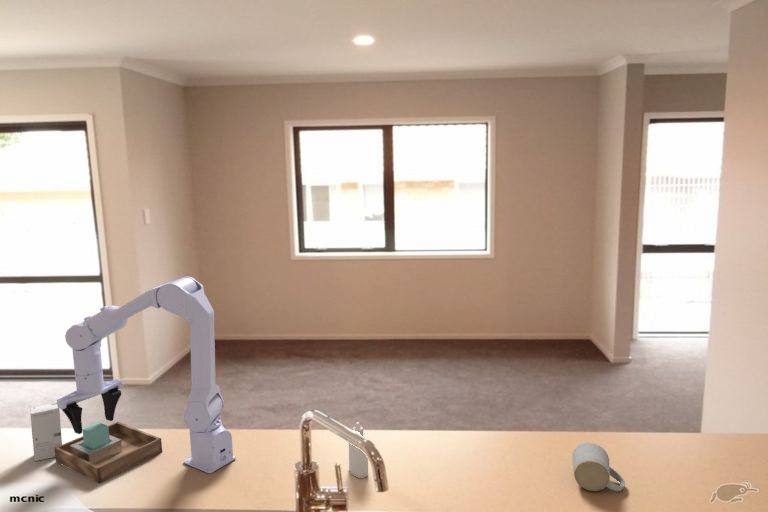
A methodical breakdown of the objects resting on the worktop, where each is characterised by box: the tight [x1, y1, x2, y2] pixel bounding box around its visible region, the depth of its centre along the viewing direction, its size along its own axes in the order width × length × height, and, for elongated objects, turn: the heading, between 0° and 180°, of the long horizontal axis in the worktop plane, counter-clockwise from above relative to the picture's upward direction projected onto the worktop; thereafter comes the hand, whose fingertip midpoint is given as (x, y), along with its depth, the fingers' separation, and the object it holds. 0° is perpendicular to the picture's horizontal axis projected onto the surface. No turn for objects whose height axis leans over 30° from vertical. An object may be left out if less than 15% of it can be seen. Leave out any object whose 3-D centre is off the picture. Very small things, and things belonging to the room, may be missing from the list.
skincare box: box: [29, 402, 63, 462], centre depth 130 cm, size 6×4×12 cm
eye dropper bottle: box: [348, 421, 369, 479], centre depth 121 cm, size 4×6×12 cm
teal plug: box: [82, 422, 110, 450], centre depth 128 cm, size 4×4×7 cm
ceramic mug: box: [572, 442, 626, 493], centre depth 116 cm, size 11×8×8 cm
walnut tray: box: [54, 421, 163, 484], centre depth 130 cm, size 18×16×4 cm
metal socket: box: [70, 435, 122, 464], centre depth 129 cm, size 8×8×3 cm
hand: (94, 426), depth 128 cm, fingers open, 7 cm apart
